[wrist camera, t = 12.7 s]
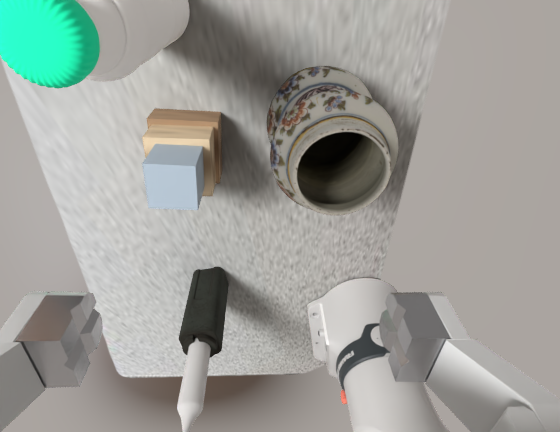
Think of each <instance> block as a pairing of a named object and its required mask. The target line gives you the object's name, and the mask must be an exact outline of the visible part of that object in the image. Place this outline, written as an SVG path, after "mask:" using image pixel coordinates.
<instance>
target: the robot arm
mask: <svg viewBox="0 0 560 432" xmlns="http://www.w3.org/2000/svg"><path fill="white" fill-rule="evenodd" d="M95 304H96V300H95V297H94V295H93V293H89V292H55V291H52V292H42V291H41V292H39V291H32V292H30V293H28V294H26V295H25V297H24V298H23V299H22V301H21V302H20V303H19V305H18V306H17V308H16V309H15V310H14V312H13V313H12V314H11V316H10V317H9V319H8V320H7V321H6V322H5V324H4V325H3V326H2V328H1V329H0V432H1V431H2V430H3V429H4V428H5V427H6V426H8V425H9V424H10V423H11V422H12V421H13V420H14V419H15V418H16V417H17V416H18V415H19V414H20V413H21V412H22V411H23V410H25V409H26V408H27V407H28V406H29V405H30V404H31V403H32V402H33V401H34V400H35V399H36V398H37V397H38V396H39V395H40V394H41V393H42V392H44V391H45V388H53V387H77V386H80V385H81V383H82V380H83V378H84V376H85V374H86V372H87V369H88V367H89V365H90V362H89V359H88V355H89V354H90V353H91V352H93V351H94V350H95V349H96V348H97V346H98V344H99V341H100V339H101V333H102V319H101V315H100V313H99V312H97V311H96V310H95V309H93V308H94V306H95ZM307 313H308V320H309V327H310V335H311V342H312V350H313V355H314V357H315V358H316V359H318V360H320V361H324V362H326V364H327V369H328V373H329V374H330V375H331V376H333V377H335V378H338V380H339V383H340V384H341V386H342V389H343V390H342V391H341V400H342V403H343V404H348V409H349V414H350V419H351V424H352V429H353V432H450V431H449V430H448V429H447V427H446V426H445V425H444V423H443V422H442V420H441V419H440V417H439V415H438V413H437V411H436V409H435V407H434V405H433V403H432V401H431V399H430V397H429V395H428V393H427V390H426V388H425V386H424V383H423V382H426V385H427V386H428V387H429V388H430V389H431V390H432V391H433V392H434V393H435V394H436V395H437V396H438V397H439V398H440V400H441V401H442V402H443V403H444V404H445V405H446V406H447V407H448V408H449V409H450V410H451V411H452V412H453V413H454V414H455V415H456V417H457V418H458V419H459V420H460V421H461V422H462V423H463V424H464V425H465V426H466V427H467V428H468V429H469V430H470V431H471V432H560V398H558V397H557V396H555V395H554V394H553V393H551V392H550V391H548V390H547V389H546V388H544V387H543V386H541V385H540V384H539V383H537V382H536V381H534V380H533V379H531V378H530V377H529V376H527V375H526V374H525V373H523V372H522V371H520V370H519V369H518V368H516V367H515V366H513V365H512V364H511V363H509V362H508V361H506V360H505V359H503V358H502V357H501V356H499V355H498V354H497V353H495V352H494V351H492V350H491V349H490V348H488V347H487V346H485V345H484V344H483V343H481V342H480V341H478V340H477V339H471V338H470V336H469V334H468V333H467V331H466V330H465V328H464V326H463V324H462V323H461V321H460V319H459V317H458V316H457V314H456V312H455V311H454V309H453V307H452V306H451V304H450V302H449V301H448V299H447V297H446V296H445V295H444V294H443V293H442V292H430V293H429V292H424V293H422V292H421V293H420V292H418V293H417V292H414V293H413V292H412V293H398V292H397V291H396V289H395V288H394V287H393V286H392V285H390V284H389V283H387V282H385V281H382V280H379V279H373V278H359V279H353V280H349V281H346V282H344V283H341V284H339V285H337V286H336V287H334V288H333V289H331V290H330V291H329V292H328V293H327V294H326V295H324V296H323V297H322V298H319V299H317V300H315V301H312V302H311V303H309V304H308V305H307Z"/></svg>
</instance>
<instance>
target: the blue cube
mask: <svg viewBox="0 0 560 432" xmlns="http://www.w3.org/2000/svg"><path fill="white" fill-rule="evenodd" d="M142 165H143V172H144V179H145V186H146V193H147V200H148V207H149V208H158V209H182V210H198V208H199V205H200V201H201V198H202V194H203V191H204V164H203V146H190V145H171V144H155V145H154V146H153V148H152V149H151V151H150V153H149V154H148V156H147V157H146V159H145V160H144V162H143V163H142Z"/></svg>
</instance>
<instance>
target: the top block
mask: <svg viewBox="0 0 560 432" xmlns="http://www.w3.org/2000/svg"><path fill="white" fill-rule="evenodd" d="M142 139H143V145H144V151H145V157H147V156H148V154H149V153H150V151H151V149H152V148H153V146H154V145H155V144H171V145H190V146H203V164H204V191H203V194H202V196H213V192H214V187H215V183H216V170H215V150H214V129H213V127H210V126H181V125H153V124H152V125H151V126H150V127H149V129H148V130H147V132H146V133H145V134H144V136H143V137H142Z"/></svg>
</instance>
